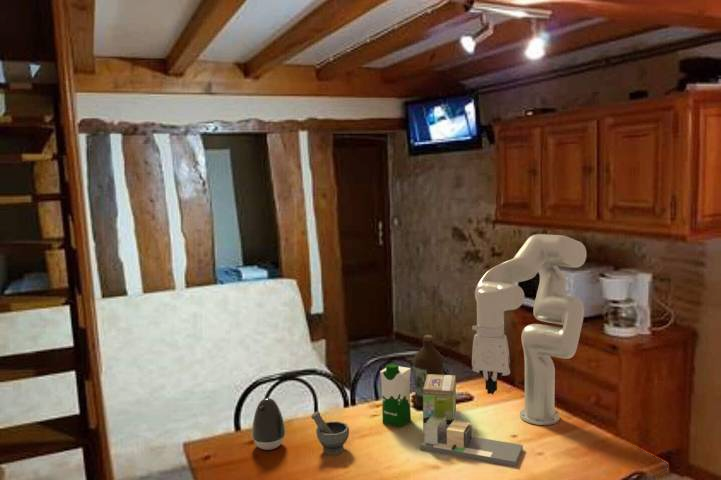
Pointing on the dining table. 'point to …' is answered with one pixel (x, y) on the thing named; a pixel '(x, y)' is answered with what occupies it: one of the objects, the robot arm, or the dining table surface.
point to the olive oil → (426, 366)
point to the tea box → (439, 397)
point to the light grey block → (435, 429)
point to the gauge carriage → (459, 434)
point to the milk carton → (395, 395)
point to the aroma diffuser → (268, 425)
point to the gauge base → (481, 450)
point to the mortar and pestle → (331, 434)
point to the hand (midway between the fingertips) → (491, 392)
